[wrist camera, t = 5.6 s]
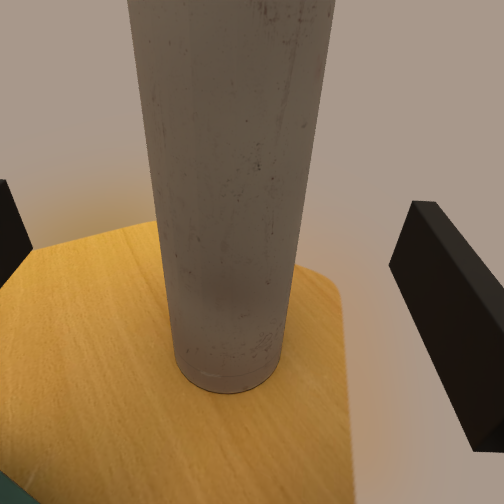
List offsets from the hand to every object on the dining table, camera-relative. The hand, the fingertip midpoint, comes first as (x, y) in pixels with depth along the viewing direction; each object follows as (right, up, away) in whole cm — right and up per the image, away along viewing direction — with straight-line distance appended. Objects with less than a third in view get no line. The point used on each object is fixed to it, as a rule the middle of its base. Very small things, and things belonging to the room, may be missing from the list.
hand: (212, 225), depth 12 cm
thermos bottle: (0, -8, +15) cm, 17 cm away
